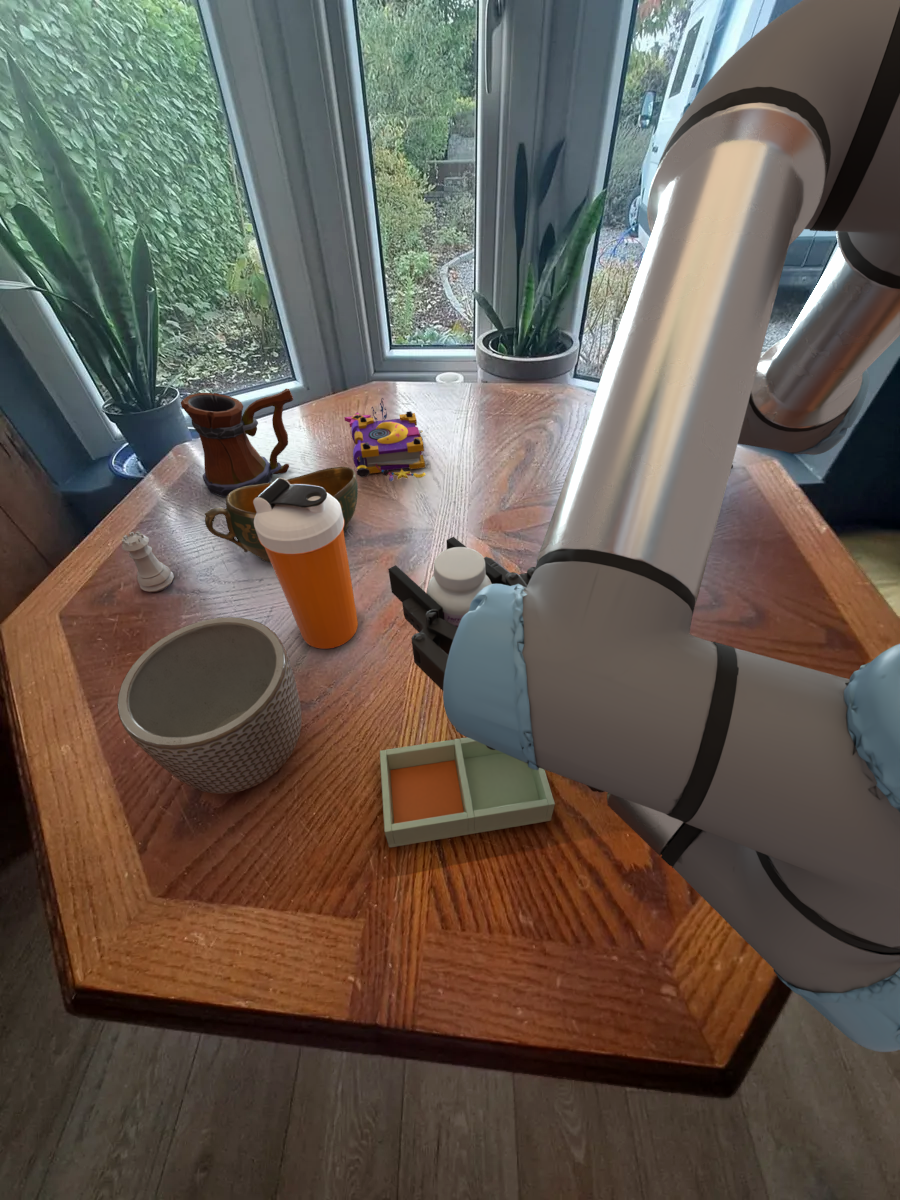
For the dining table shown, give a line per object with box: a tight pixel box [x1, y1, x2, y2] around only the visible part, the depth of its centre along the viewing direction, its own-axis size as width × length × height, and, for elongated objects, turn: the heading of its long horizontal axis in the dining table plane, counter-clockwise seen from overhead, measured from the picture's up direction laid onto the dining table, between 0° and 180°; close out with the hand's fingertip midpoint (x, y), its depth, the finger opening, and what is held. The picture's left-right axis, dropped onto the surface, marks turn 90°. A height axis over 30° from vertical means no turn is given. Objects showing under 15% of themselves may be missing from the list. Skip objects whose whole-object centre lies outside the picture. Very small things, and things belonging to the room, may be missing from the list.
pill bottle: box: [426, 546, 492, 627], centre depth 43 cm, size 5×5×10 cm
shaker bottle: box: [253, 477, 359, 650], centre depth 58 cm, size 9×9×20 cm
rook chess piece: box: [121, 531, 175, 593], centre depth 70 cm, size 4×4×8 cm
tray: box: [379, 737, 556, 849], centre depth 48 cm, size 15×8×4 cm, turn 99°
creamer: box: [204, 466, 359, 564], centre depth 75 cm, size 13×20×10 cm, turn 99°
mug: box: [179, 388, 294, 498], centre depth 87 cm, size 18×12×15 cm, turn 107°
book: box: [343, 397, 427, 482], centre depth 92 cm, size 15×25×12 cm, turn 10°
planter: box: [116, 616, 303, 795], centre depth 49 cm, size 14×14×13 cm
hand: (423, 564), depth 45 cm, fingers closed on pill bottle, 5 cm apart
